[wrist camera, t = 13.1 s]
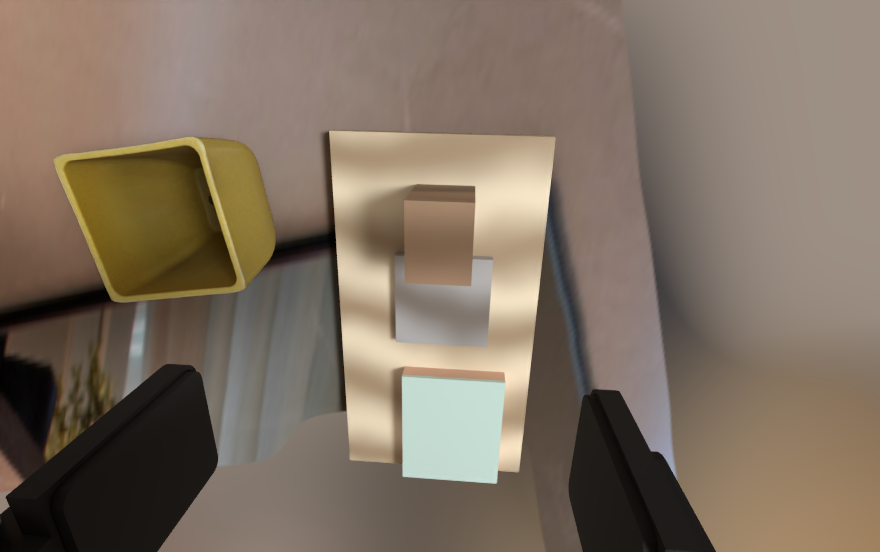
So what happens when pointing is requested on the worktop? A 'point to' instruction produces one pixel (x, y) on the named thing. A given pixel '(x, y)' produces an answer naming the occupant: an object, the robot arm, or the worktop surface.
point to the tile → (452, 423)
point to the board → (382, 235)
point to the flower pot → (171, 216)
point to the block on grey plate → (441, 270)
